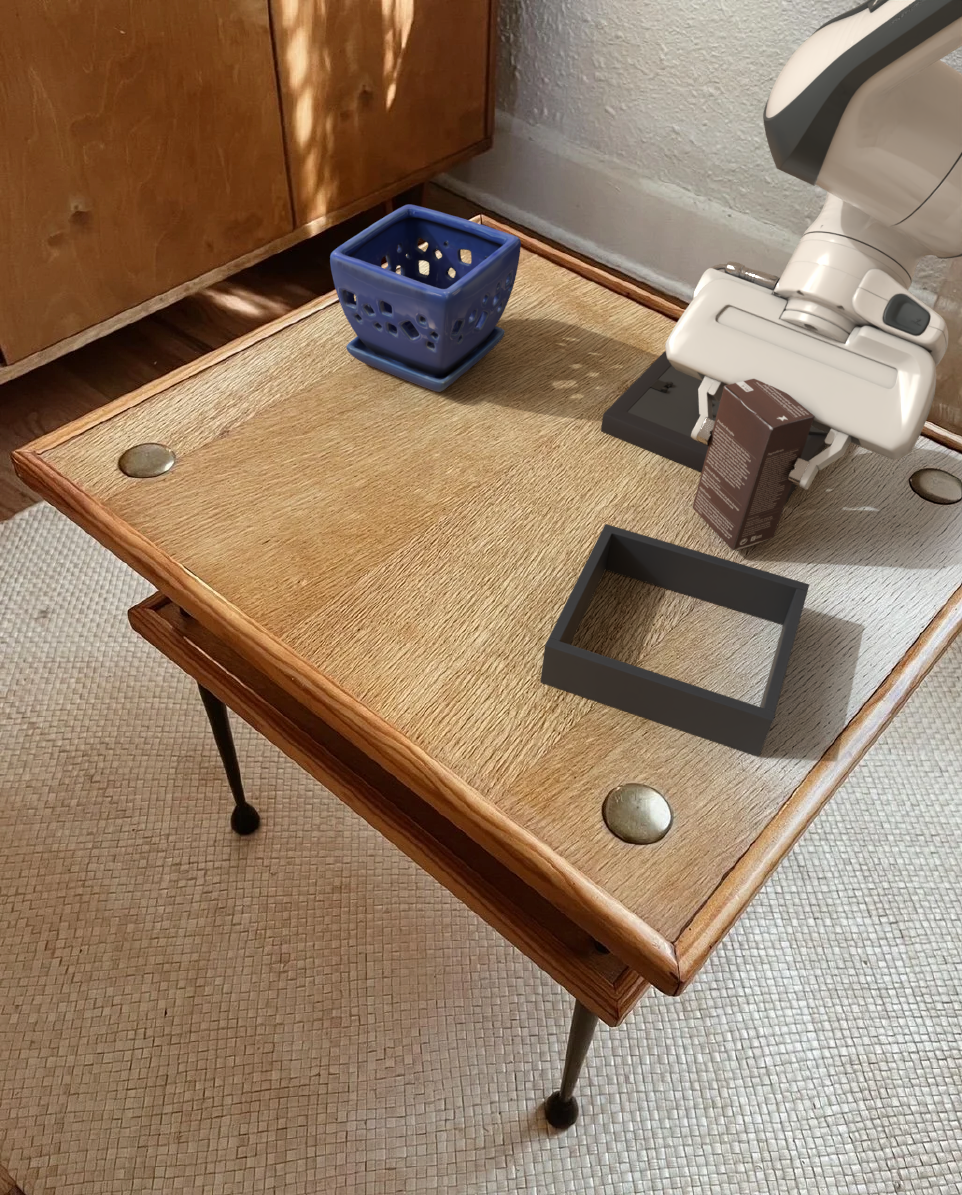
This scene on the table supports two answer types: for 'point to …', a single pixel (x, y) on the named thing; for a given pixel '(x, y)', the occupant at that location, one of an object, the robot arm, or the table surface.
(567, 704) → the table surface
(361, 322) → the flower pot
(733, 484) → the box
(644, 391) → the picture frame
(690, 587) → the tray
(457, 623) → the table surface
